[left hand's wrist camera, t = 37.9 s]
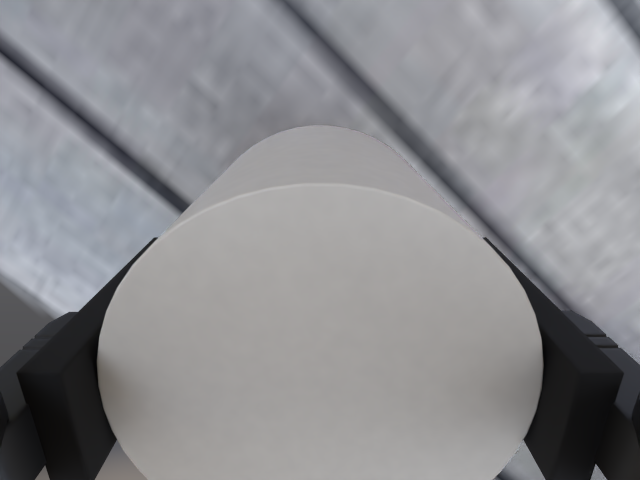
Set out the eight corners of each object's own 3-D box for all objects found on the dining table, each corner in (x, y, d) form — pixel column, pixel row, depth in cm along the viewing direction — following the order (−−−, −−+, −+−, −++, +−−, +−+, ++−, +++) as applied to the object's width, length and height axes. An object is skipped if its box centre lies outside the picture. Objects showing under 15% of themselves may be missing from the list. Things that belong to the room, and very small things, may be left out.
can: (465, 288, 17) (591, 474, 9) (273, 366, 19) (238, 587, 11) (380, 79, 15) (457, 85, 6) (161, 190, 16) (-3, 309, 8)
